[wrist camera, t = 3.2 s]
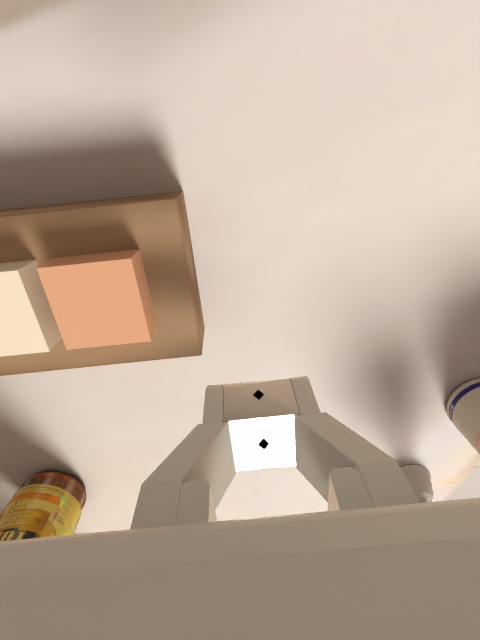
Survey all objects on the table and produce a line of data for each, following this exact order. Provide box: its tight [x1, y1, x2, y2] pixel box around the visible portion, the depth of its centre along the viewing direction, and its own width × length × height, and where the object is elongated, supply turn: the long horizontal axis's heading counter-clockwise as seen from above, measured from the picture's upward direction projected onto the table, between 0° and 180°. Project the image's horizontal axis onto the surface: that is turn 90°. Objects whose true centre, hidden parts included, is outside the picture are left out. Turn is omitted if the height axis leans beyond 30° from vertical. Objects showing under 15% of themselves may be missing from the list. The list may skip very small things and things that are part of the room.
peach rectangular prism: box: [37, 249, 157, 350], centre depth 20 cm, size 5×5×2 cm
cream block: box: [0, 260, 62, 357], centre depth 20 cm, size 5×5×2 cm
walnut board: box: [0, 192, 204, 376], centre depth 23 cm, size 10×14×4 cm
